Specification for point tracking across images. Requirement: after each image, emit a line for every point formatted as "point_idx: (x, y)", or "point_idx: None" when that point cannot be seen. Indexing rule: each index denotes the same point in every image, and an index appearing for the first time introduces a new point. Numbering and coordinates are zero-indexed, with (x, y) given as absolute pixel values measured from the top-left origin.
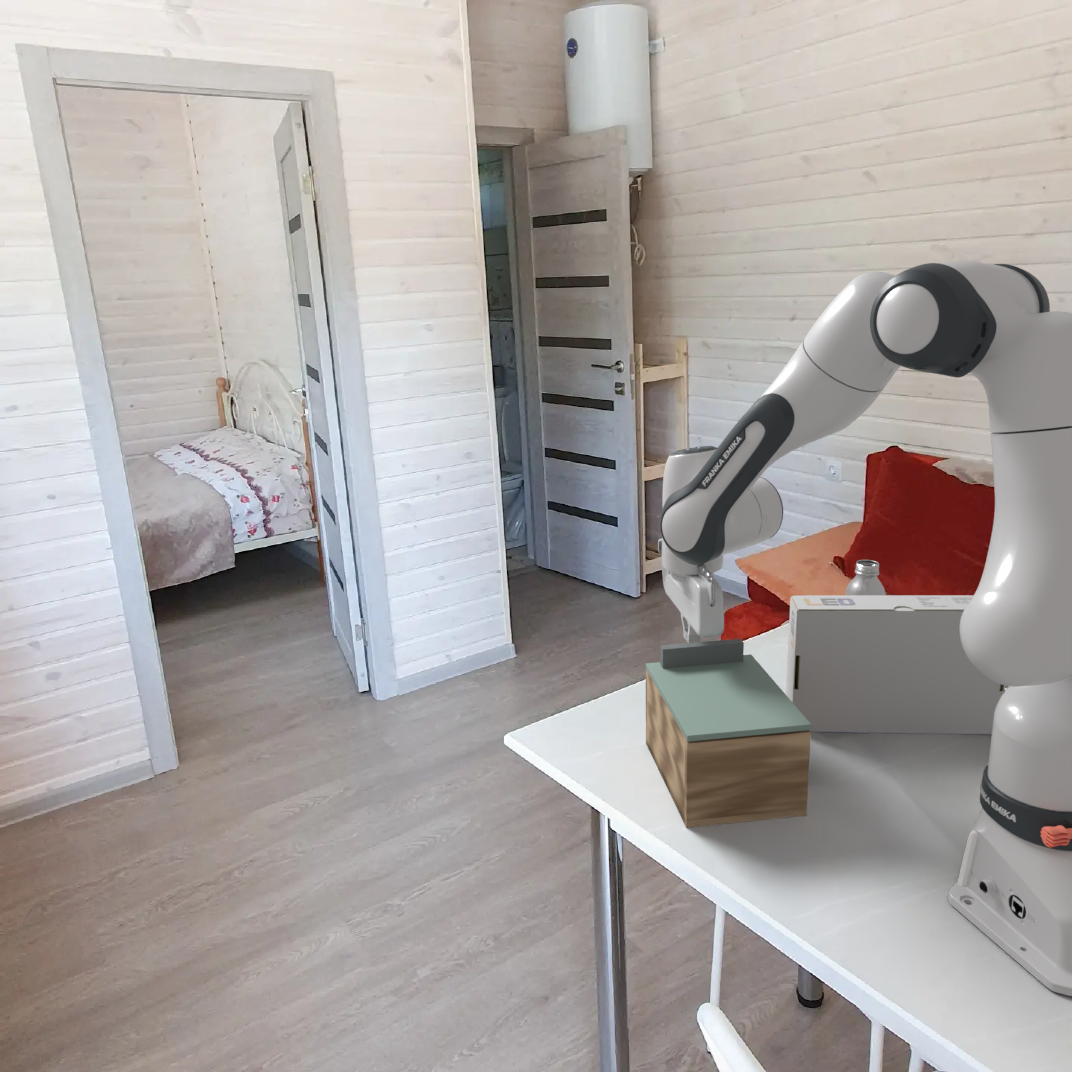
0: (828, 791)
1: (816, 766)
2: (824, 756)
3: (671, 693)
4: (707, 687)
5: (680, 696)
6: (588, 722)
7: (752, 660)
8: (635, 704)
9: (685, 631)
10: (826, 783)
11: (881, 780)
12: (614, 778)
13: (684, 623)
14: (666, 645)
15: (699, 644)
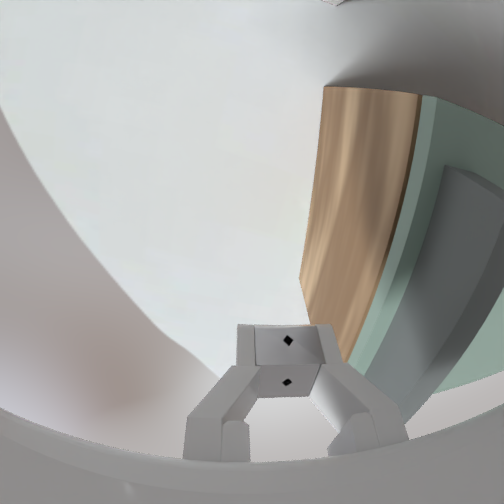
0: (497, 84)
1: (451, 48)
2: (429, 15)
3: (468, 376)
4: (501, 321)
5: (484, 364)
6: (208, 333)
7: (480, 131)
8: (151, 261)
9: (268, 393)
10: (485, 71)
11: (488, 6)
12: None
13: (243, 419)
14: None
15: (437, 375)
